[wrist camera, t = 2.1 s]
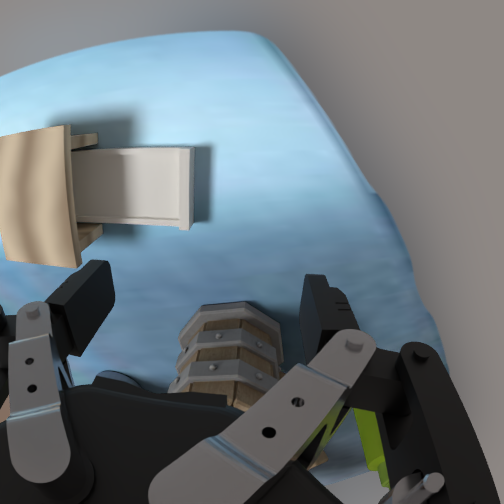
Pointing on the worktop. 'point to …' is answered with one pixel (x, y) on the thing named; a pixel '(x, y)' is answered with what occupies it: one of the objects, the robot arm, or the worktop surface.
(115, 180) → the white pull-out drawer
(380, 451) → the soap dispenser
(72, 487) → the robot arm
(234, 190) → the worktop surface
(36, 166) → the small wooden table
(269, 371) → the tankard
